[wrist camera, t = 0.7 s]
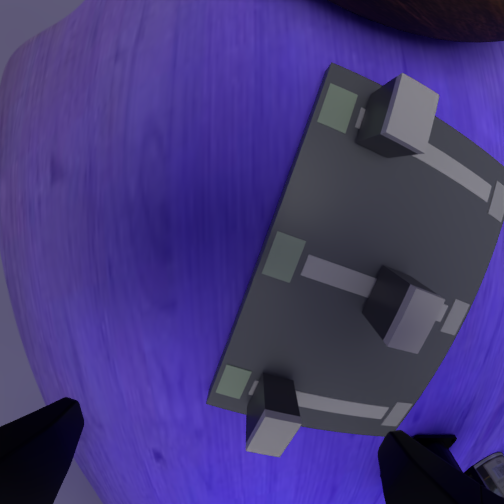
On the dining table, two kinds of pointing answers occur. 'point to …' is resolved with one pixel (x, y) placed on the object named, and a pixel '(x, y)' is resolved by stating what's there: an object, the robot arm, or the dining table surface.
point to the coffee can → (493, 472)
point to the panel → (360, 266)
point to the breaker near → (398, 118)
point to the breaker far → (272, 416)
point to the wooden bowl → (436, 17)
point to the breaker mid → (402, 310)
